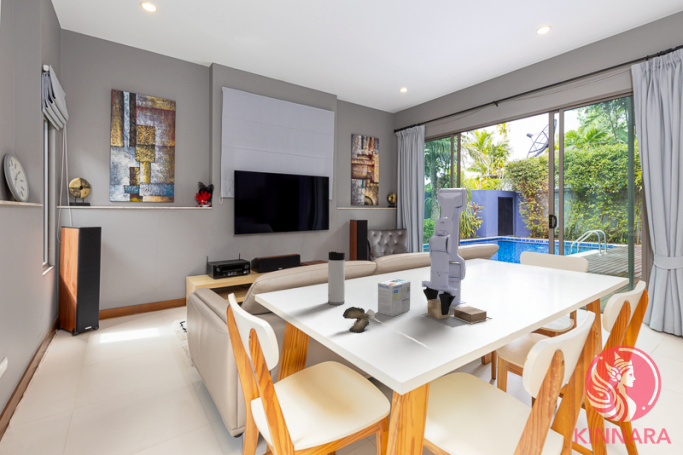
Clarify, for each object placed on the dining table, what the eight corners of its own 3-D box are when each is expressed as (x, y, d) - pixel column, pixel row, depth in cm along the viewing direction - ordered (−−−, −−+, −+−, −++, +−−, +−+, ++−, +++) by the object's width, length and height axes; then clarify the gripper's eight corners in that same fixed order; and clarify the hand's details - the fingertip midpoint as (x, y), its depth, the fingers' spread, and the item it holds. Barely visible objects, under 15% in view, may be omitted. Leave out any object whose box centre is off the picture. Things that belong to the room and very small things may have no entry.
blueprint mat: (420, 315, 109) (421, 314, 109) (459, 308, 118) (459, 307, 118) (454, 329, 97) (454, 327, 97) (494, 320, 105) (494, 318, 105)
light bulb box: (395, 307, 119) (395, 278, 118) (410, 311, 114) (411, 280, 114) (376, 313, 111) (377, 282, 111) (392, 318, 107) (393, 285, 106)
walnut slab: (454, 316, 108) (454, 308, 107) (468, 313, 111) (469, 306, 111) (471, 322, 101) (471, 314, 101) (486, 319, 105) (486, 311, 105)
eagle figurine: (351, 317, 104) (336, 319, 96) (364, 299, 103) (350, 301, 95) (368, 334, 100) (354, 338, 92) (381, 316, 99) (368, 319, 91)
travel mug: (325, 304, 122) (325, 251, 121) (332, 300, 128) (332, 249, 127) (340, 306, 119) (340, 252, 118) (346, 301, 125) (347, 250, 125)
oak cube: (427, 314, 109) (427, 300, 109) (438, 312, 111) (438, 298, 111) (438, 319, 104) (438, 303, 104) (449, 317, 107) (450, 302, 106)
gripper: (415, 269, 112) (414, 308, 112) (447, 276, 99) (446, 320, 99) (430, 267, 115) (430, 305, 115) (463, 274, 102) (462, 317, 103)
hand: (438, 312), depth 108 cm, fingers closed on oak cube, 5 cm apart
